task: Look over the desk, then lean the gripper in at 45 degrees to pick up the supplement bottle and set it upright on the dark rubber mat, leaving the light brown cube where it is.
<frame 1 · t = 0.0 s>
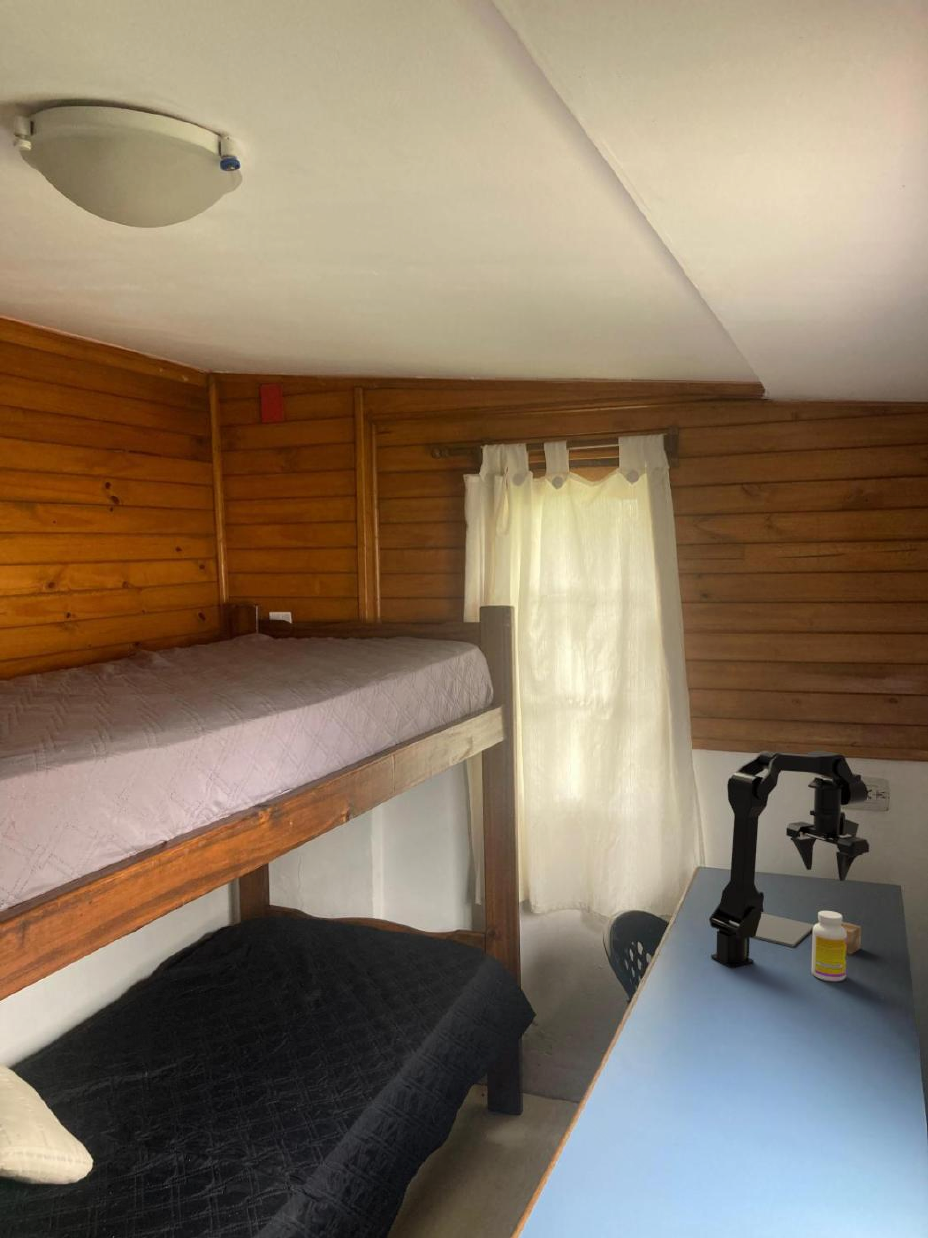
hand: (825, 875, 215), 15 cm above the table, tool pointing down, fingers open, 9 cm apart
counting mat: (769, 929, 221), on the table
supplement bottle: (828, 977, 195), on the table
light brown cube: (844, 948, 210), on the table
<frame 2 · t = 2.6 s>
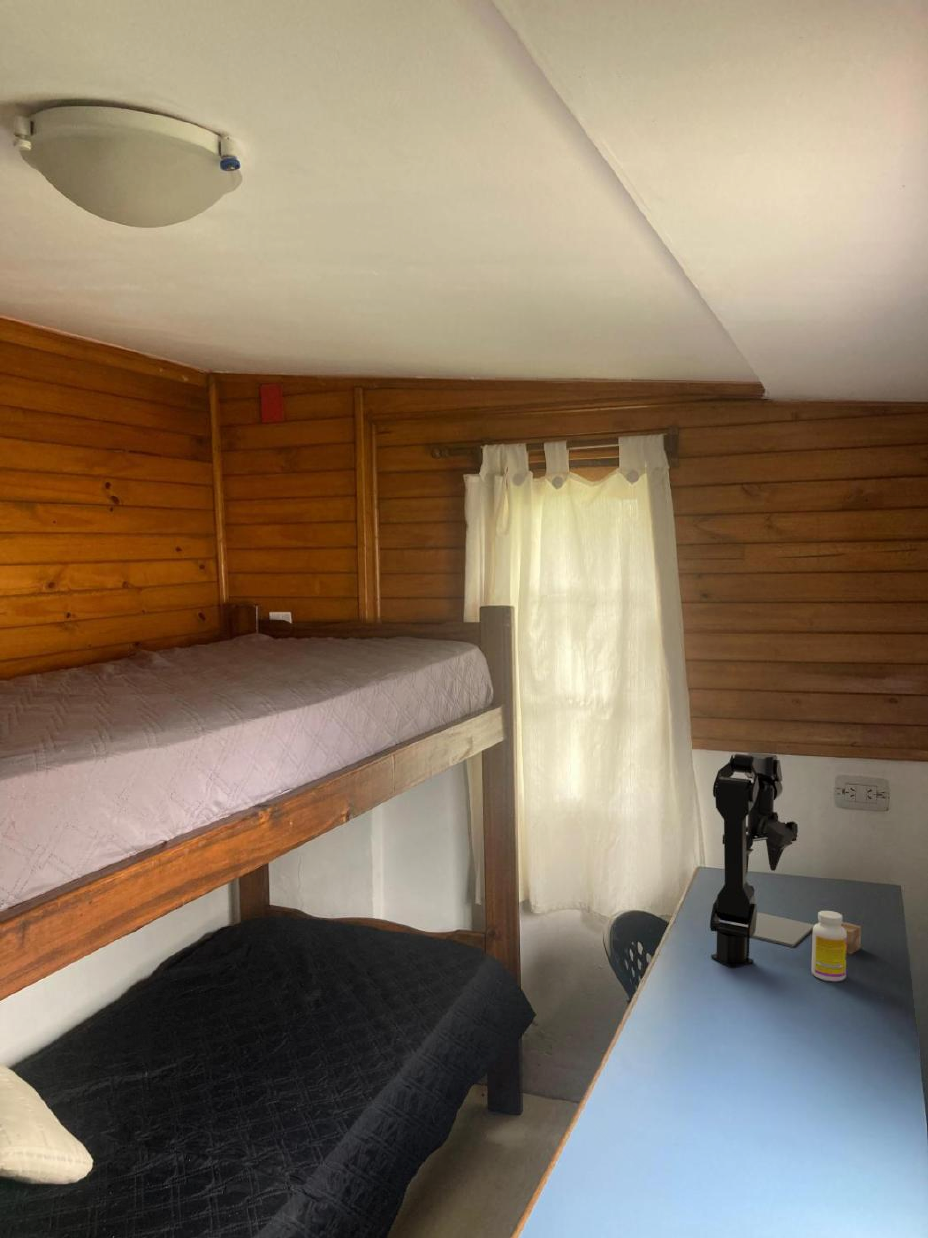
hand: (758, 873, 222), 13 cm above the table, tool pointing down, fingers open, 9 cm apart
nothing on the table moved.
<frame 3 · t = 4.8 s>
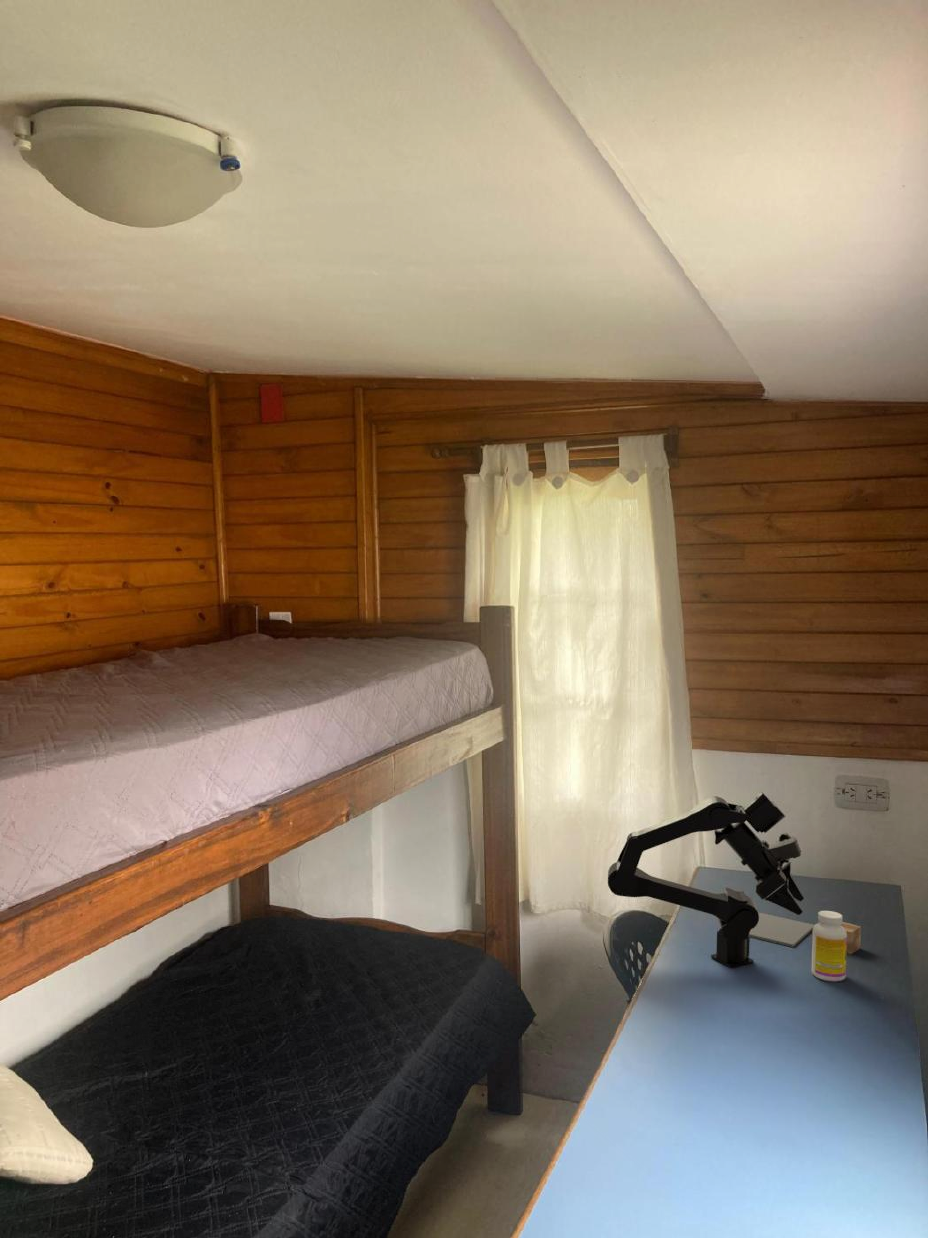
hand: (801, 906, 197), 13 cm above the table, tool tilted 45°, fingers open, 9 cm apart
nothing on the table moved.
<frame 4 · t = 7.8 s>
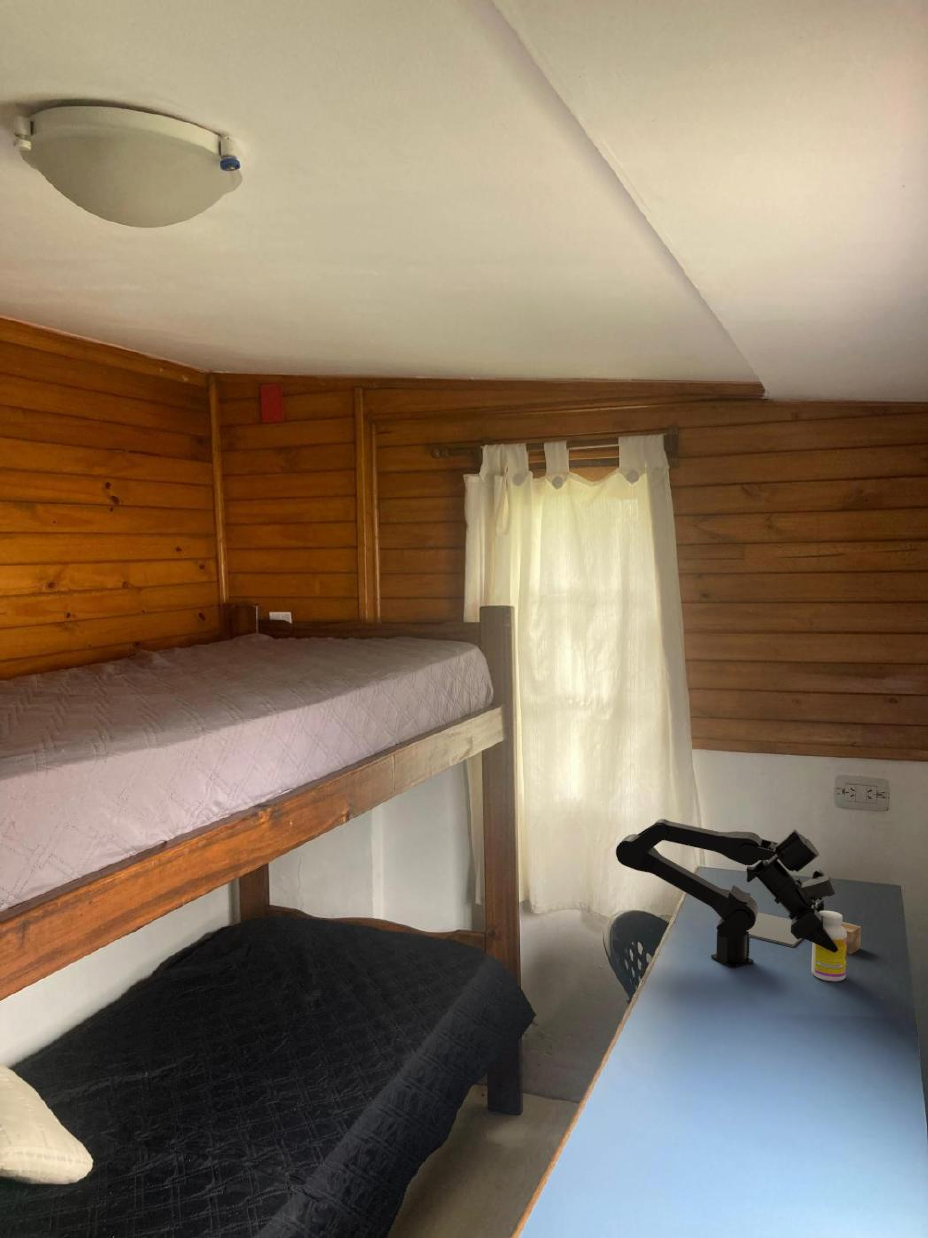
hand: (836, 945, 194), 7 cm above the table, tool tilted 45°, fingers closed on supplement bottle, 7 cm apart
supplement bottle: (828, 977, 195), on the table, touching gripper
everything else where it was.
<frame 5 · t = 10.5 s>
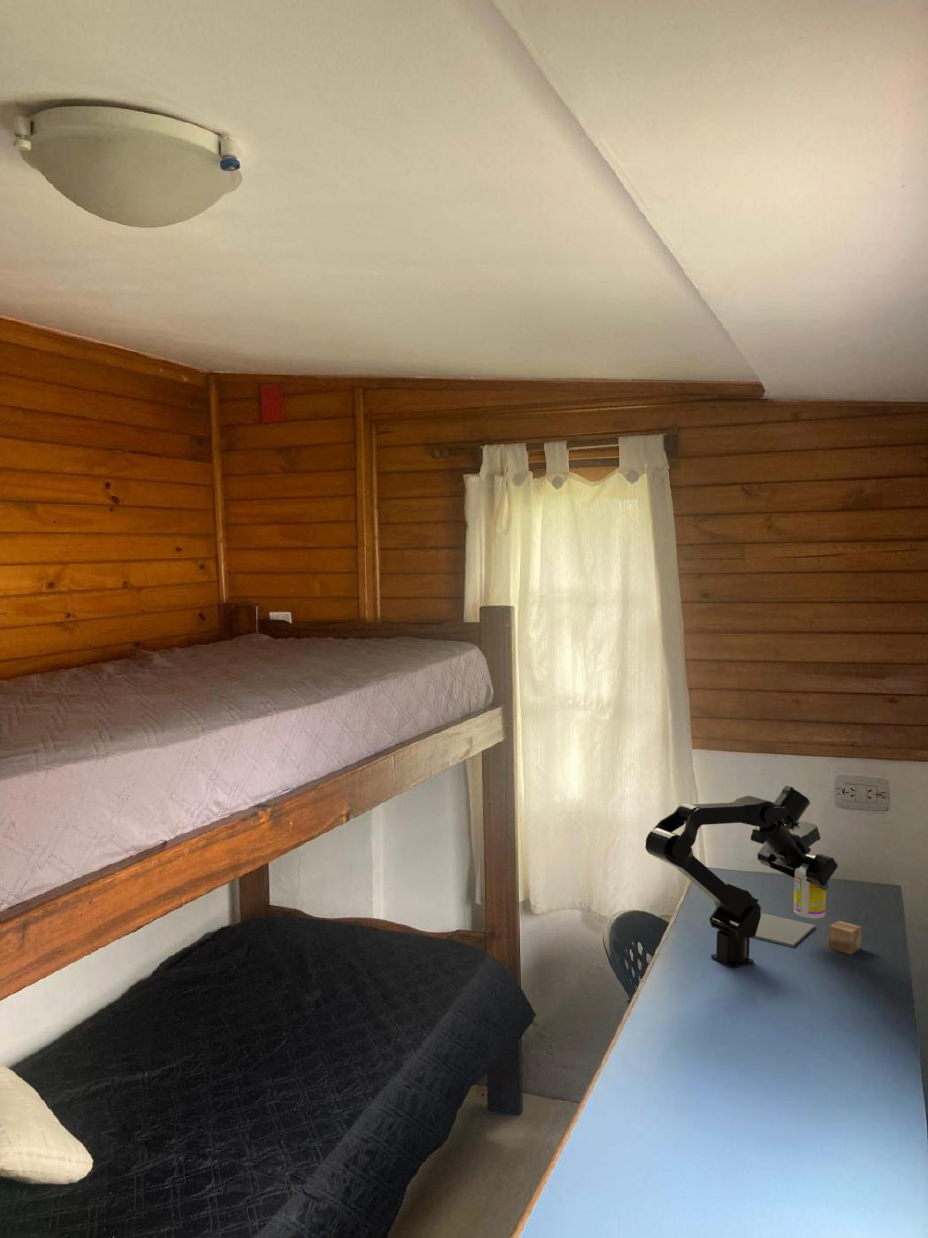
hand: (814, 884, 212), 14 cm above the table, tool tilted 45°, fingers closed on supplement bottle, 7 cm apart
supplement bottle: (809, 915, 212), point 7 cm above the table, touching gripper
everything else where it was.
when the fingers open (8 cm above the table, at t = 13.2 s): supplement bottle stays where it is, resting on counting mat.
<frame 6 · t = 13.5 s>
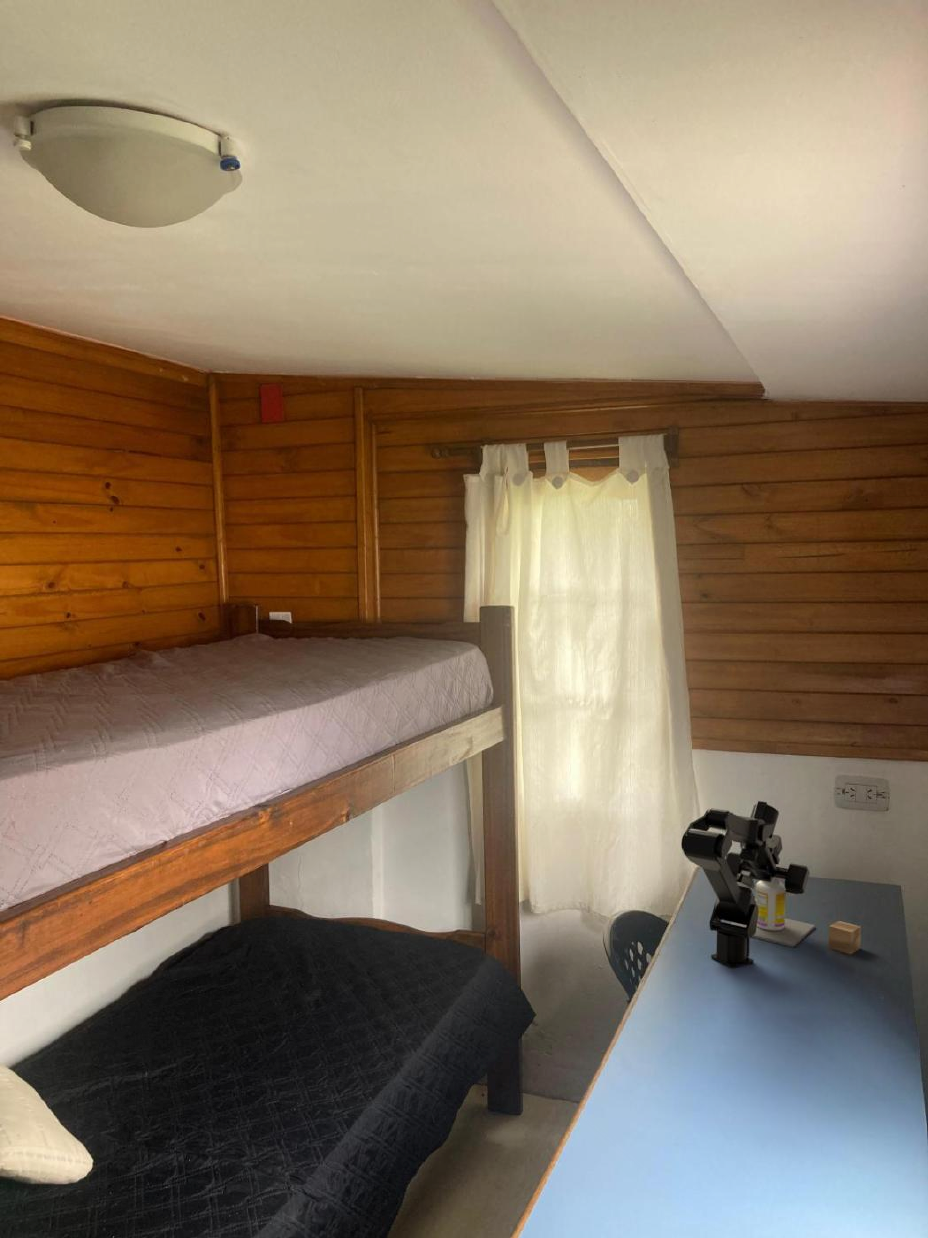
hand: (772, 891, 222), 9 cm above the table, tool tilted 45°, fingers open, 9 cm apart
supplement bottle: (769, 927, 221), resting on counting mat
everything else where it was.
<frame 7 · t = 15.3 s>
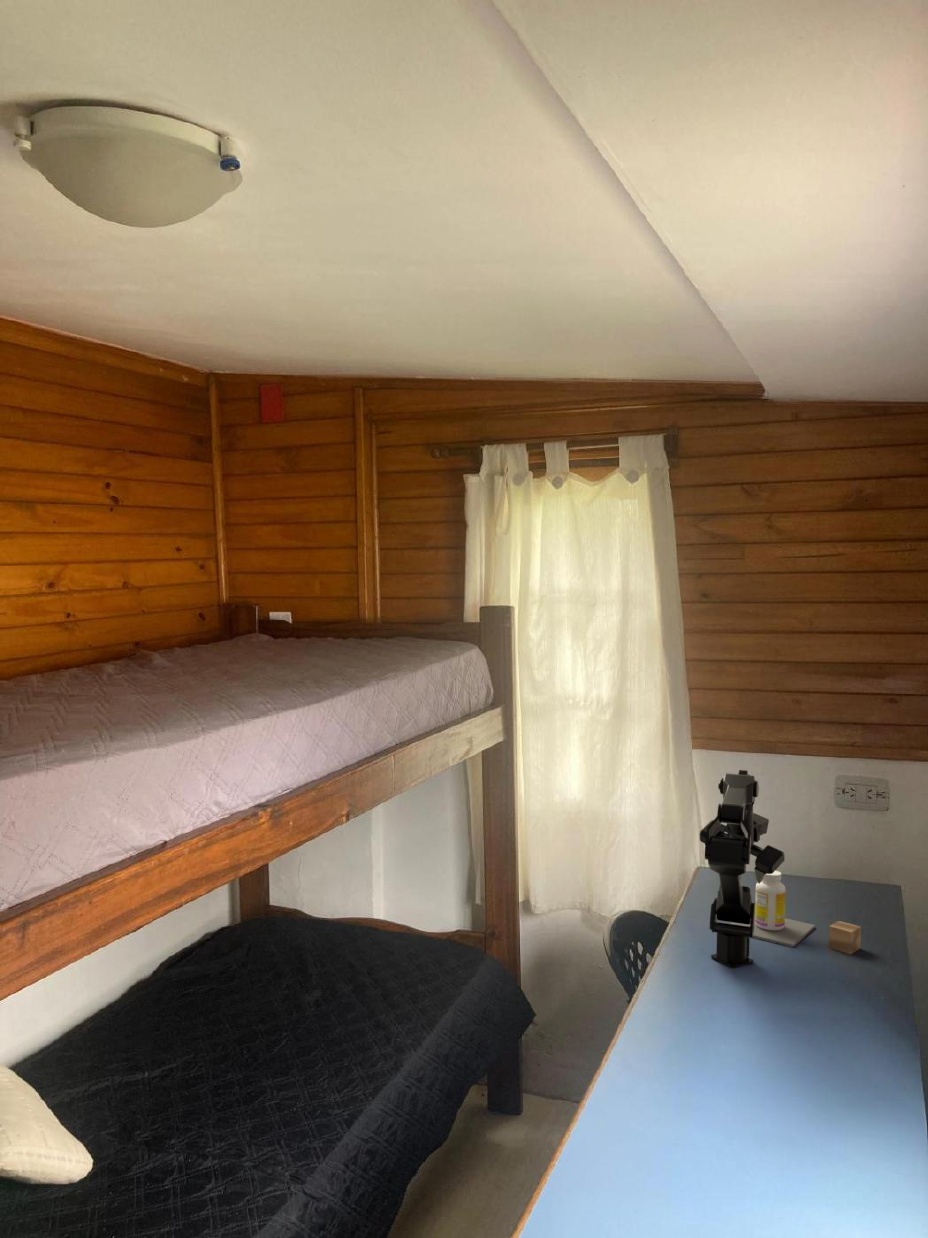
hand: (742, 873, 218), 14 cm above the table, tool tilted 30°, fingers open, 9 cm apart
nothing on the table moved.
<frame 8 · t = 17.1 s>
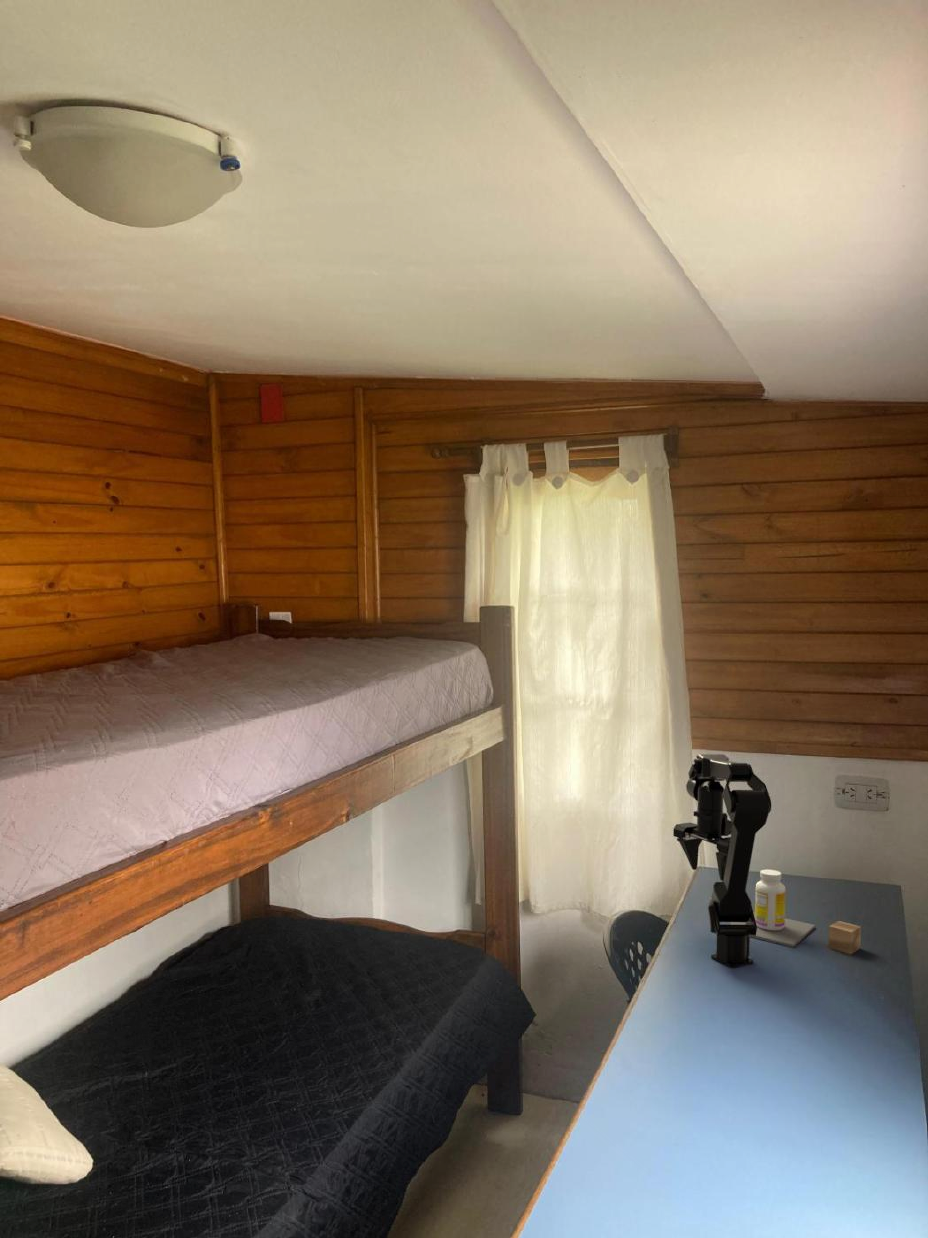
hand: (708, 875, 219), 13 cm above the table, tool pointing down, fingers open, 9 cm apart
nothing on the table moved.
at the end: supplement bottle inside the target area on the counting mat (0.1 cm from its centre), point 0.4 cm above the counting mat's base; supplement bottle tilted 0°; the gripper is holding nothing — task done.
